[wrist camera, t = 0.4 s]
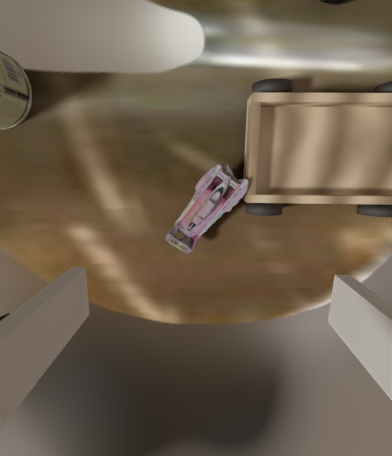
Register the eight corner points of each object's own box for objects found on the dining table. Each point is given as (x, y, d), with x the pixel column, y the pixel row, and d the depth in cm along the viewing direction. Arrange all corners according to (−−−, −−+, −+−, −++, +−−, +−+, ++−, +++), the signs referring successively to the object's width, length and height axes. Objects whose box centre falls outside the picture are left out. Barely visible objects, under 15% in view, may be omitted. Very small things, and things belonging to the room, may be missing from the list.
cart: (239, 209, 40) (246, 216, 34) (245, 90, 36) (253, 75, 30) (386, 211, 39) (418, 219, 34) (407, 91, 36) (447, 76, 30)
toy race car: (218, 155, 33) (207, 164, 30) (253, 183, 33) (245, 195, 30) (171, 222, 41) (158, 234, 38) (199, 244, 41) (188, 259, 38)
